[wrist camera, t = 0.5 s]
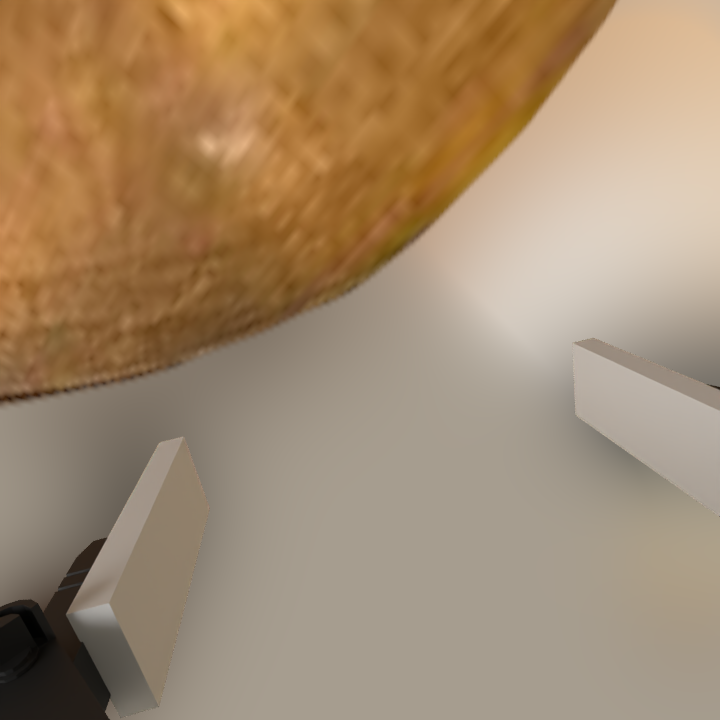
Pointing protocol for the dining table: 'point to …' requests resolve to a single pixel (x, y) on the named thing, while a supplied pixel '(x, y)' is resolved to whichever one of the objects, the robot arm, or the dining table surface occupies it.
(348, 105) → the dining table surface
